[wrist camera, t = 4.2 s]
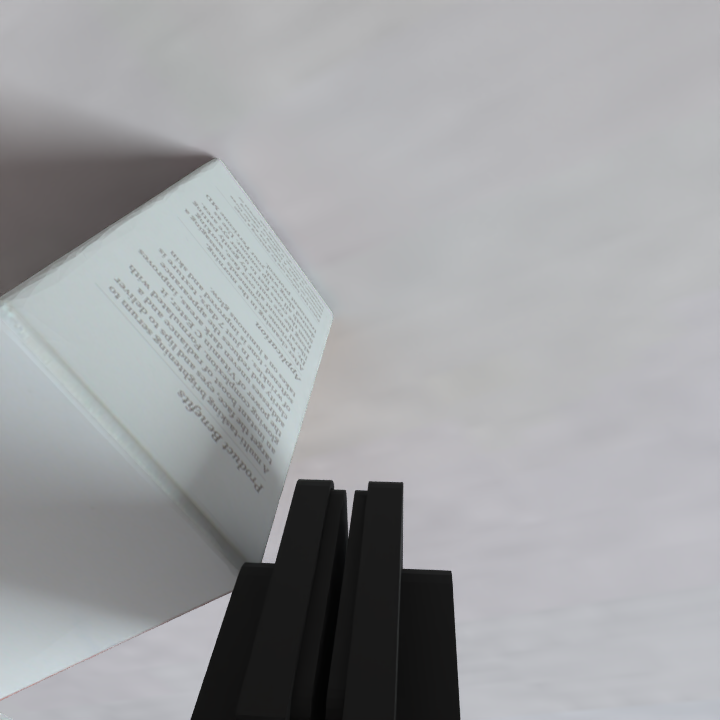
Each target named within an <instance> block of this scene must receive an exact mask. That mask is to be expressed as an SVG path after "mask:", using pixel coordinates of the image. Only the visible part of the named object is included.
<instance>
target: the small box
mask: <svg viewBox="0 0 720 720" xmlns="http://www.w3.org/2000/svg"><path fill="white" fill-rule="evenodd" d="M332 321H333V313H332V312H331V310H330V309H329V307H328V306H327V305H326V303H325V302H324V300H323V299H322V298H321V296H320V295H319V294H318V292H317V291H316V289H315V288H314V287H313V285H312V284H311V282H310V281H309V280H308V278H307V277H306V276H305V274H304V273H303V271H302V270H301V269H300V267H299V266H298V264H297V263H296V262H295V260H294V259H293V257H292V256H291V255H290V253H289V252H288V251H287V249H286V248H285V246H284V245H283V244H282V242H281V241H280V240H279V238H278V237H277V235H276V234H275V233H274V231H273V230H272V229H271V227H270V226H269V224H268V223H267V222H266V220H265V219H264V218H263V216H262V215H261V213H260V212H259V211H258V209H257V208H256V207H255V205H254V204H253V202H252V201H251V200H250V198H249V197H248V196H247V194H246V193H245V192H244V190H243V189H242V188H241V186H240V185H239V184H238V182H237V181H236V180H235V178H234V177H233V176H232V174H231V173H230V172H229V170H228V169H227V167H226V166H225V164H224V163H223V162H222V161H221V160H220V159H219V158H214V159H212V160H211V161H209V162H207V163H206V164H204V165H202V166H201V167H199V168H198V169H196V170H195V171H193V172H192V173H190V174H188V175H187V176H185V177H184V178H182V179H181V180H179V181H178V182H176V183H175V184H173V185H172V186H170V187H169V188H167V189H166V190H164V191H163V192H161V193H160V194H158V195H157V196H155V197H154V198H152V199H150V200H149V201H147V202H146V203H144V204H143V205H141V206H140V207H138V208H137V209H135V210H133V211H132V212H130V213H129V214H127V215H126V216H124V217H123V218H121V219H119V220H118V221H116V222H115V223H113V224H112V225H110V226H109V227H107V228H105V229H104V230H102V231H101V232H99V233H98V234H96V235H95V236H93V237H92V238H90V239H89V240H87V241H85V242H84V243H82V244H81V245H79V246H78V247H76V248H75V249H73V250H72V251H70V252H69V253H67V254H65V255H64V256H62V257H61V258H59V259H57V260H56V261H54V262H53V263H51V264H50V265H48V266H47V267H45V268H44V269H42V270H41V271H39V272H38V273H36V274H35V275H33V276H32V277H30V278H29V279H27V280H26V281H24V282H23V283H21V284H19V285H18V286H16V287H15V288H13V289H12V290H10V291H8V292H7V293H5V294H4V295H2V296H1V297H0V700H3V699H5V698H7V697H9V696H11V695H13V694H15V693H17V692H19V691H21V690H23V689H25V688H28V687H30V686H32V685H34V684H36V683H38V682H40V681H42V680H44V679H46V678H48V677H51V676H53V675H55V674H57V673H59V672H61V671H63V670H66V669H68V668H70V667H72V666H74V665H76V664H78V663H80V662H83V661H85V660H87V659H89V658H92V657H94V656H96V655H98V654H100V653H102V652H104V651H106V650H108V649H110V648H112V647H115V646H117V645H119V644H121V643H123V642H125V641H127V640H129V639H131V638H134V637H136V636H138V635H140V634H142V633H145V632H147V631H149V630H151V629H153V628H155V627H158V626H160V625H162V624H164V623H166V622H168V621H170V620H172V619H174V618H177V617H179V616H181V615H183V614H185V613H187V612H190V611H192V610H194V609H196V608H198V607H200V606H203V605H205V604H207V603H209V602H211V601H213V600H215V599H218V598H220V597H222V596H224V595H226V594H228V593H231V592H233V589H234V586H235V583H236V580H237V577H238V574H239V571H240V569H241V567H242V565H243V564H244V563H245V562H249V563H261V562H262V559H263V555H264V552H265V548H266V545H267V541H268V538H269V535H270V531H271V528H272V524H273V521H274V517H275V514H276V510H277V507H278V503H279V500H280V496H281V493H282V490H283V487H284V483H285V480H286V476H287V473H288V470H289V466H290V463H291V460H292V456H293V453H294V449H295V446H296V443H297V440H298V436H299V433H300V429H301V426H302V422H303V419H304V415H305V412H306V409H307V405H308V401H309V398H310V395H311V392H312V389H313V386H314V382H315V378H316V375H317V371H318V368H319V365H320V362H321V358H322V355H323V351H324V348H325V344H326V341H327V337H328V334H329V331H330V327H331V324H332Z"/></svg>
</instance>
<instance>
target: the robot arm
mask: <svg viewBox="0 0 720 720" xmlns="http://www.w3.org/2000/svg"><path fill="white" fill-rule="evenodd" d="M191 720H460V705H459V688H458V670H457V653H456V636H455V618H454V601H453V584H452V573H451V571H444V570H419V569H403V482H372V481H369V484H368V491H363V490H355V494H354V501H353V509H352V516H351V523H350V530H349V538H348V520H347V497H346V490H334V483H333V481H332V480H305V479H299V480H298V481H297V484H296V487H295V491H294V495H293V498H292V502H291V506H290V510H289V513H288V517H287V521H286V525H285V528H284V532H283V536H282V540H281V543H280V547H279V551H278V555H277V558H276V562H275V564H273V563H249V562H245V563H244V564H243V565H242V567H241V569H240V571H239V574H238V577H237V580H236V583H235V586H234V589H233V592H232V595H231V598H230V601H229V604H228V607H227V610H226V613H225V616H224V619H223V622H222V625H221V629H220V632H219V635H218V638H217V641H216V644H215V647H214V650H213V653H212V656H211V659H210V662H209V665H208V668H207V671H206V674H205V677H204V680H203V683H202V686H201V690H200V693H199V696H198V699H197V702H196V705H195V708H194V711H193V714H192V717H191Z"/></svg>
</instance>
